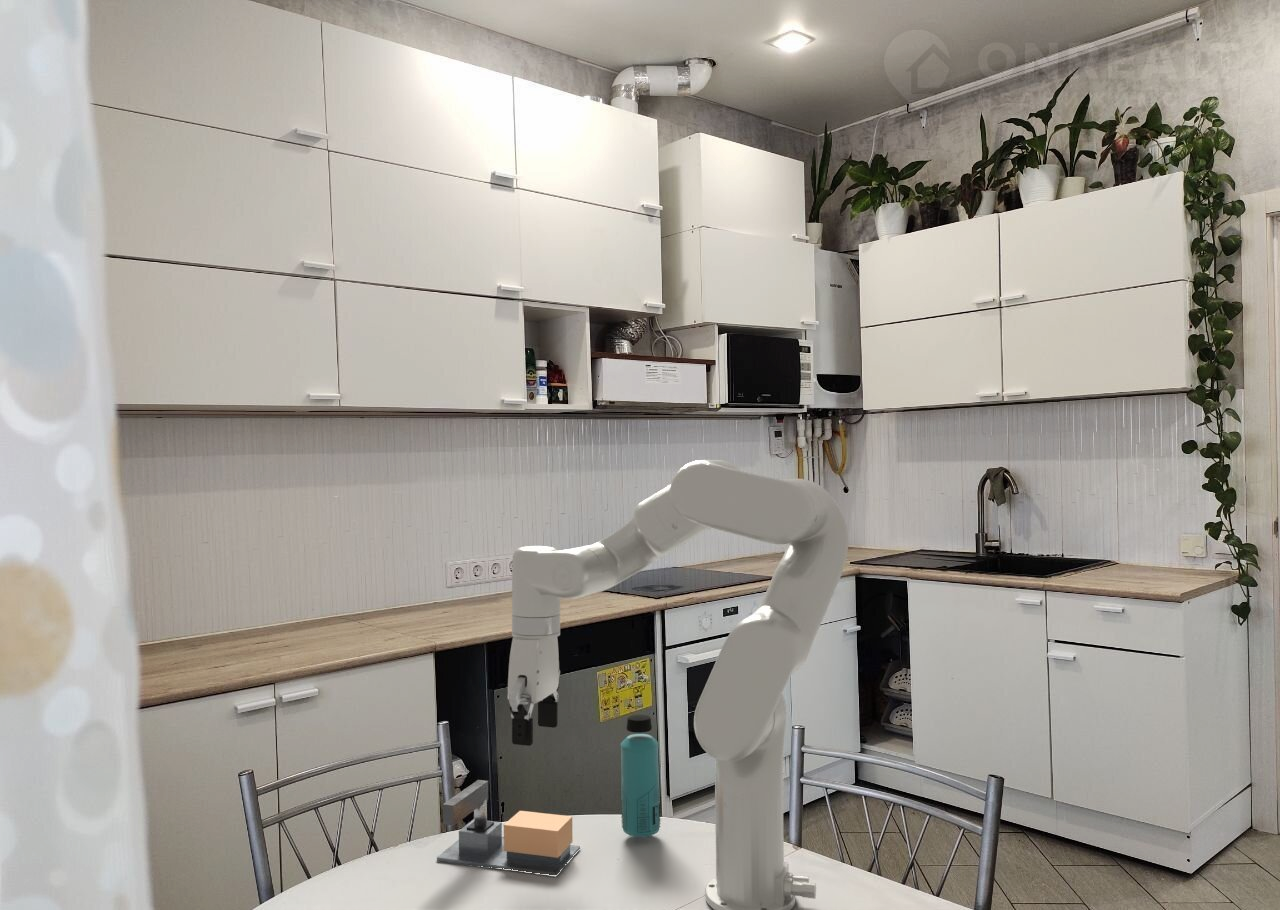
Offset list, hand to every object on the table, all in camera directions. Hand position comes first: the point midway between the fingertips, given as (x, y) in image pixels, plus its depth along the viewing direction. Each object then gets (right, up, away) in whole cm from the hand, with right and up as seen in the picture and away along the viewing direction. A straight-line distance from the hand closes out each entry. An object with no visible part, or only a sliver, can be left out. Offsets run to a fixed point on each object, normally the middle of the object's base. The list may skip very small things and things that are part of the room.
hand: (535, 735), depth 142 cm
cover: (+1, -17, 0) cm, 17 cm away
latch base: (-4, -19, +1) cm, 20 cm away
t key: (-10, -15, -2) cm, 18 cm away
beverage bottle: (+17, -19, +7) cm, 26 cm away
